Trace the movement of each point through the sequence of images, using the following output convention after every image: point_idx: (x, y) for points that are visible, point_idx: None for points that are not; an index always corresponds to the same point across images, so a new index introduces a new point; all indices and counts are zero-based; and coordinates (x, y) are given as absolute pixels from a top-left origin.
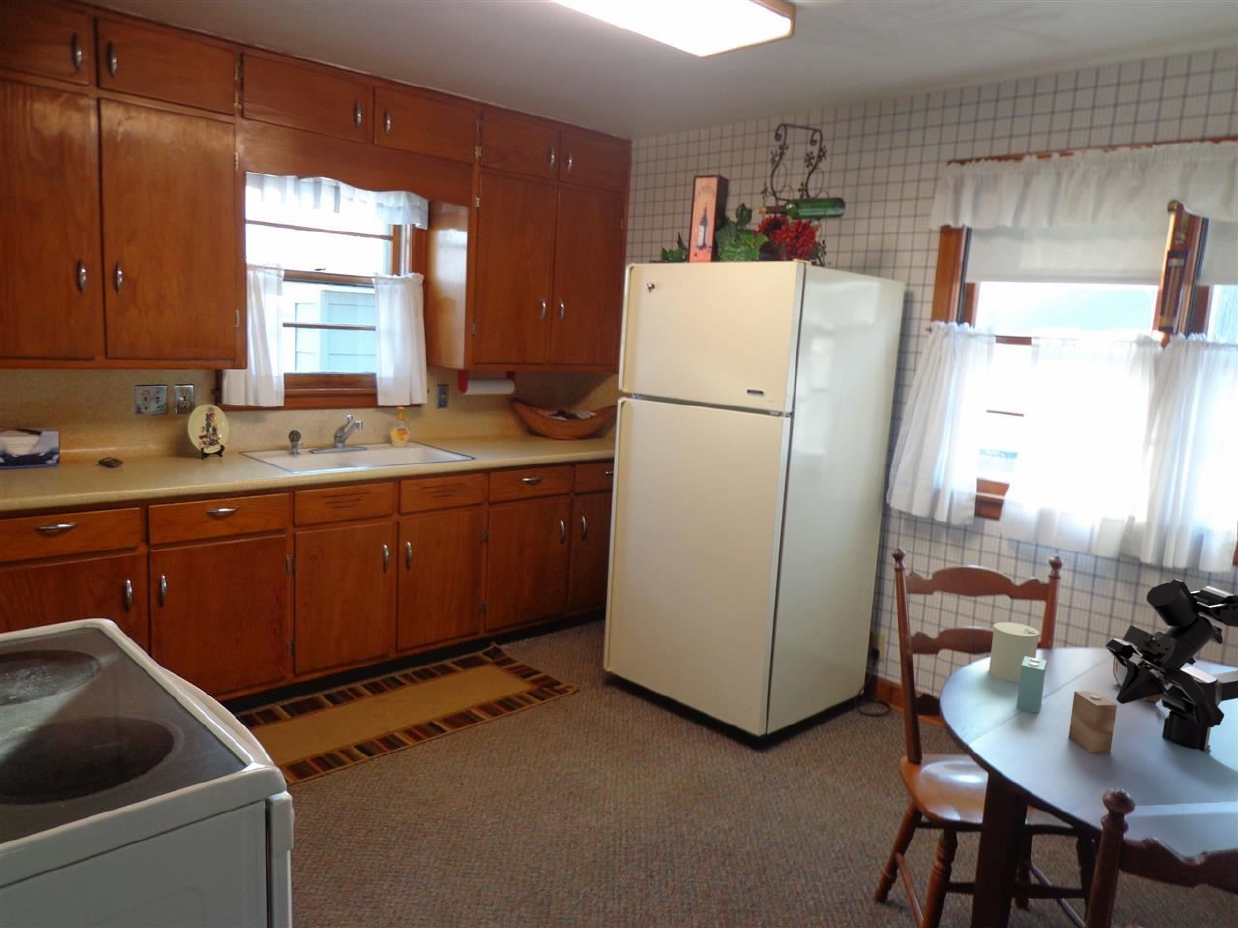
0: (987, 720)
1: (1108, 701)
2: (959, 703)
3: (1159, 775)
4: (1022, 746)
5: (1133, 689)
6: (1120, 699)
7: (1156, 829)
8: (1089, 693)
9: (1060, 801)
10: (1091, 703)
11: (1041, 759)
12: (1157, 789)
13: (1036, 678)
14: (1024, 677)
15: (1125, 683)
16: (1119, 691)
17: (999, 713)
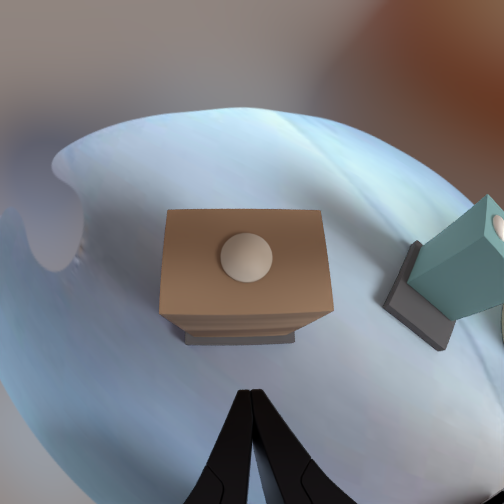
0: (371, 179)
1: (199, 296)
2: (425, 177)
3: (110, 393)
4: (263, 175)
5: (209, 461)
6: (237, 395)
7: (4, 229)
8: (301, 264)
9: (88, 144)
10: (200, 211)
11: (206, 179)
12: (64, 334)
13: (465, 237)
14: (466, 217)
15: (292, 461)
16: (279, 415)
17: (407, 219)
